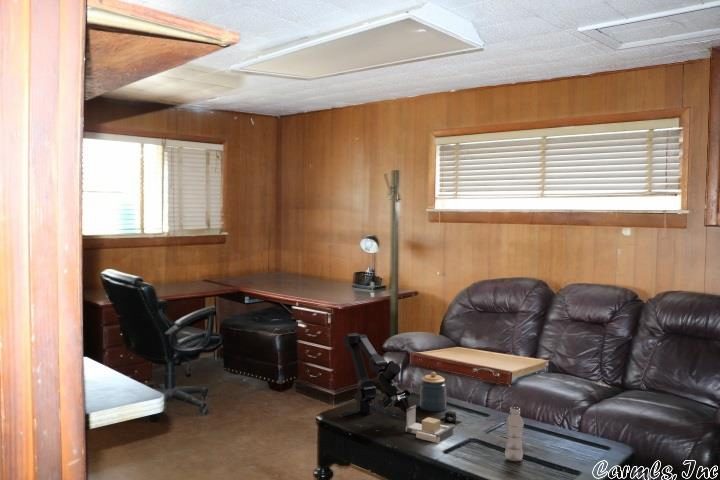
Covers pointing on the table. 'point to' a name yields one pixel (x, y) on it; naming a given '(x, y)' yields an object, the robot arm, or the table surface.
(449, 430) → the bay
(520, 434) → the plastic bottle
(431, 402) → the canister
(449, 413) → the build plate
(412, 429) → the trolley
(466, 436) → the table surface
